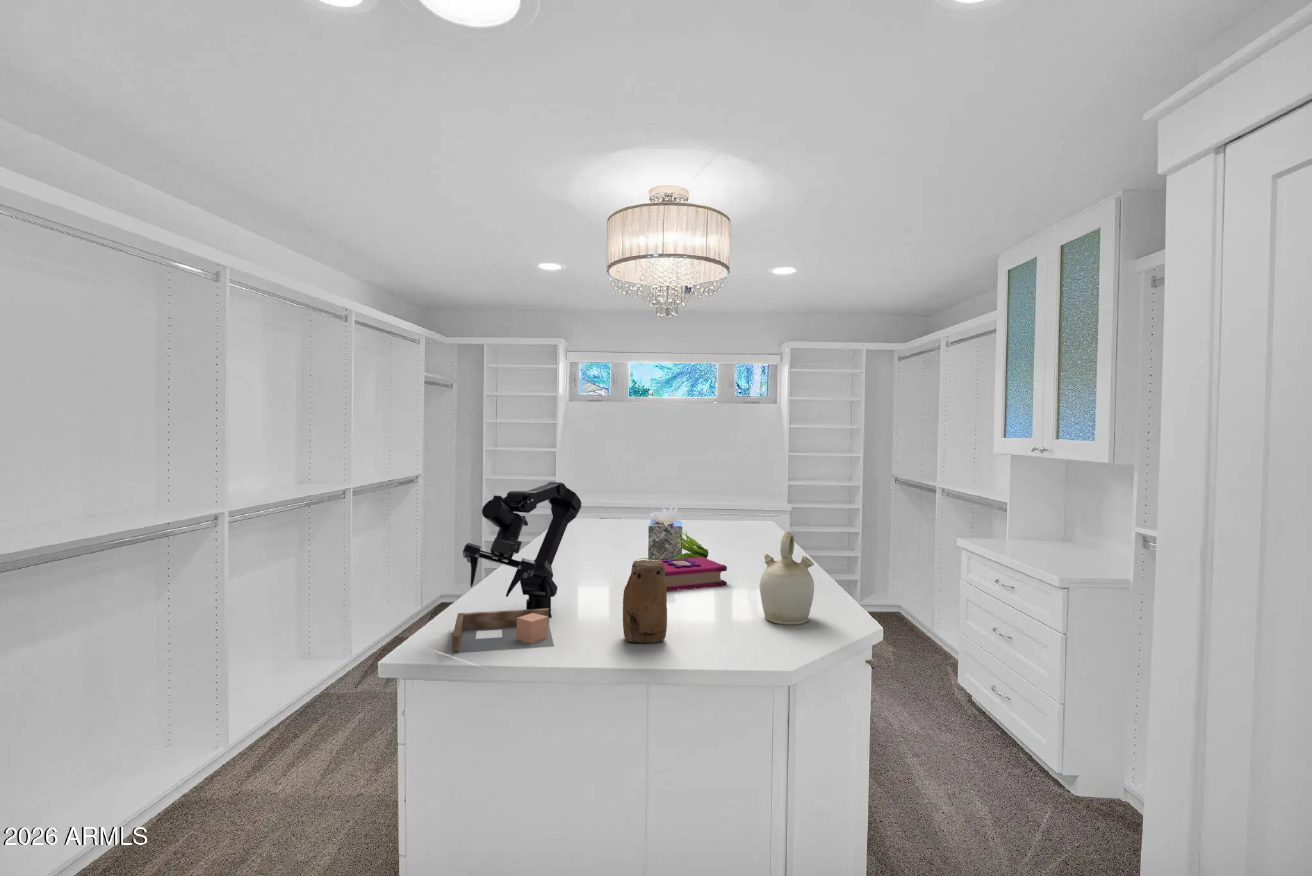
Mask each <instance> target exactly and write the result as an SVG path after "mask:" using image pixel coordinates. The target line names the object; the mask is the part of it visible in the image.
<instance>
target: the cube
mask: <svg viewBox="0 0 1312 876" xmlns="http://www.w3.org/2000/svg"><path fill="white" fill-rule="evenodd" d="M547 638H548V617H547V616H543V615H539V614H535V613H531V614H528V615H524V616H521V617H517V640H521V641H524V642H528V643H531V644H532V643H535V642H538V641H541V640H544V639H547Z"/></svg>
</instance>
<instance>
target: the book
mask: <svg viewBox="0 0 1312 876" xmlns="http://www.w3.org/2000/svg"><path fill="white" fill-rule="evenodd" d="M669 559H670V560H669ZM669 559H664V560H662V559H658V560H656V561H660V562H662V563H663V565H664V567H665V569H666V571H665V577H666V588H667V592H670V591H669V590H676V591H678V590H677V589H686V590H694V588H696V589H703V588H702V587H706V588H716V586H717V587H725V586H724V585H726V586H727V585H728V584H727V583H728V582H727V581H726V580H724V579H722V578H721V573H722V572H726V571H728V569H727V568H728V567H727V565H724V564H721V563H720V562H716V561H715V560H712V559H709V558H707V559H706V558H704V557H696V558H683V559H672V558H669Z"/></svg>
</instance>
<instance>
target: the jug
mask: <svg viewBox="0 0 1312 876" xmlns="http://www.w3.org/2000/svg"><path fill="white" fill-rule="evenodd" d="M794 536H795V535H794V534H793V533H792V532H789V531H787V532H785V533H783V535H782V538H781V542H780V550H779V552H780V556H781V558H780V559H779V560H774V557H772V556H771V555H769V554H767V553H765V555H764V556H763V557H764V563H765V565H766V568H765V569H764V570H763V572H762V574H761V576H760V580H759V592H760V600H761V605H762V610H763V611H762V612H763V614H764V619H765V620H767V621H768V622H770V623H773V624H778V625H786V626H788V625H789V626H793V625H794V626H796V625H803V624H806V623H807V622H808V621H809V617H810V613H811V608H812V604H813V600H814V595H815V582H814V579H813V576H812V574H811V572H810V570H809V568H811V567H813V566H814V565H815V562H814V561H812V560H811V559H810V558H809V557H807V556H804V555H803V556H801V560H800V562H797V561H796V560H794V558H793V554H794V549H795V537H794Z"/></svg>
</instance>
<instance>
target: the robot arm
mask: <svg viewBox="0 0 1312 876" xmlns="http://www.w3.org/2000/svg"><path fill="white" fill-rule="evenodd" d="M545 501H546V502H547V501H548V504H550V506H551V507H550V511H551V516H552V518H551V521H550V522H549V526H548V528H547V531H546V533H545V535H544V537H543V540H542V542H541V545H540V547H539V550H538V552H537V554H536V557H535V559H534V560H532V559H529V558H525V557H521V560H517V559H513V556H514V554H519V553H520V551H521V547H522V543H523V541H522V540H519V538H520V535H521V532H522V529H523V527H528V526H529V522H528V520H527V517H526V516H525V515H520V514H523V513H524V514H530V513H531V512H532V511H534V510H536V508H537V506H538V504H541V503H544V502H545ZM581 508H582V501H581V499H580V497H579V496H578V495H577V493H576V492H575V491H573V490H571V489H570V488H568V486H566V484H565V483H563V482H559V481H550V482H547V483H546V484H543V485H540V486H537V487H534V488H532V489H529V490H511V491H509V492H507V494H506V496H504V497H502V496H501V495H493V497H492V499H490V500H488V501H487V502H485V504H484V505H483V507H482V509H481V515H482V516H483V518H485V519H486V520H487V521H488V522H490V523H491V524H492V525H494V527H496V528H498V530H497V533H496V537H494V539H493V542H492V544H491V547H490V550H489V552H488V551H485V550H482V546H481V545H478V544H474V543H471V542H468V543H465V546H464V547H463V550H462V557H463V558H465V559H466V562H467V563H469V564H470V588H473V586H474V583H475V579H476V577H477V576H476V575H477V572H478V567H479V559H483V560H486V561H491V562H494V563H498V564H501V565H504V566H505V565H506V566H509V567H511V568H516V571H515V574H514V576H513V578H512V580H511V583H510V584H509V586H508V588H507V592H506V594H505V598H506V597H509V595H510V593H512V592H513V590H514V588H515V587H516V586H517V585H518V584H519V583H520V588H521V592H522V595H523V596H527V597H528V598H527V599H526V600H525V603H526V604H525V610H528V609H546V608H549V619H551V618H552V597H553V598H554V597H555V596H556V595H557V591H558V586H557V584H556V583H555V582H554V580H553V578H554V571H553V568H552V565H553V562H554V560H555V557H556V555H557V552H558V550H559V547H560V545H561V541H562V540H563V537H564V535H565V532H566V530H567V527H568V525H569V524H570V523H571V522H572V521H573V520H575V519H576V518H577V516H578V514H579V512H580V510H581ZM519 513H520V514H519Z"/></svg>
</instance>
